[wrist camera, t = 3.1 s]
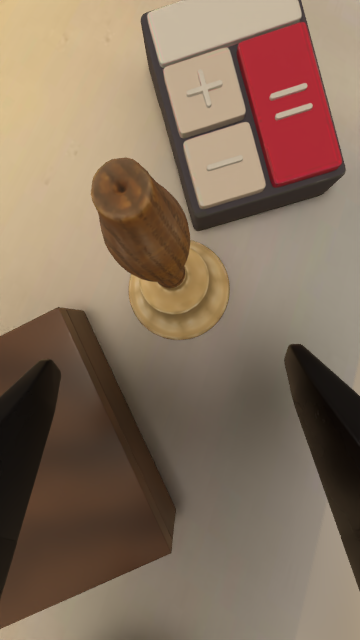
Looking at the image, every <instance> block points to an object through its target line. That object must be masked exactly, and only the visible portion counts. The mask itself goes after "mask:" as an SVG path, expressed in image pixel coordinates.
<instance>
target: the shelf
mask: <svg viewBox="0 0 360 640" xmlns="http://www.w3.org/2000/svg"><path fill="white" fill-rule="evenodd" d="M42 359H52V360H53V361H54V362H55V364H56V365H57V367H58V368H59V369H60V371H61V381H60V386H59V392H58V398H57V403H56V409H55V413H54V417H53V421H52V424H51V428H50V431H49V434H48V438H47V441H46V445H45V448H44V452H43V455H42V458H41V462H40V465H39V469H38V472H37V476H36V479H35V482H34V486H33V489H32V493H31V496H30V500H29V503H28V506H27V510H26V513H25V517H24V520H23V524H22V527H21V530H20V534H19V537H18V540H17V545H16V548H15V552H14V555H13V558H12V562H11V565H10V569H9V572H8V576H7V579H6V582H5V586H4V589H3V593H2V596H1V600H0V629H1V628H3V627H6V626H8V625H10V624H12V623H15V622H17V621H19V620H21V619H24V618H26V617H28V616H30V615H33V614H35V613H37V612H39V611H42V610H44V609H46V608H48V607H51V606H53V605H55V604H58V603H60V602H62V601H64V600H67V599H69V598H71V597H73V596H76V595H78V594H80V593H82V592H85V591H87V590H89V589H91V588H94V587H96V586H98V585H100V584H103V583H105V582H107V581H109V580H112V579H114V578H116V577H118V576H121V575H123V574H125V573H127V572H130V571H132V570H134V569H136V568H139V567H141V566H143V565H145V564H148V563H150V562H152V561H154V560H157V559H159V558H161V557H163V556H166V555H168V554H170V553H171V551H172V541H173V531H174V522H175V513H176V509H175V506H174V504H173V502H172V500H171V498H170V496H169V494H168V491H167V489H166V487H165V485H164V483H163V481H162V478H161V476H160V474H159V472H158V470H157V468H156V466H155V463H154V461H153V459H152V457H151V455H150V453H149V451H148V448H147V446H146V444H145V442H144V440H143V438H142V436H141V433H140V431H139V429H138V427H137V425H136V423H135V420H134V418H133V416H132V414H131V412H130V410H129V408H128V405H127V403H126V401H125V399H124V397H123V395H122V393H121V390H120V388H119V386H118V384H117V382H116V380H115V378H114V375H113V373H112V371H111V369H110V367H109V365H108V362H107V360H106V358H105V356H104V354H103V352H102V350H101V347H100V345H99V343H98V341H97V339H96V337H95V335H94V332H93V330H92V328H91V326H90V324H89V322H88V320H87V317H86V315H85V313H84V311H81V310H74V309H66V308H60V307H58V308H56V309H54V310H52V311H50V312H48V313H46V314H44V315H42V316H40V317H38V318H36V319H34V320H32V321H30V322H28V323H26V324H24V325H22V326H20V327H18V328H16V329H14V330H12V331H10V332H8V333H6V334H4V335H2V336H0V396H1V395H2V394H3V393H4V392H5V391H7V390H8V389H9V388H10V387H11V386H12V385H13V384H14V383H15V382H16V381H17V380H19V379H20V378H21V377H22V376H23V375H24V374H25V373H26V372H27V371H28V370H29V369H30V368H32V367H33V366H34V365H35V364H36V363H37V362H38V361H39V360H42Z"/></svg>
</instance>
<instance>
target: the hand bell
mask: <svg viewBox="0 0 360 640" xmlns="http://www.w3.org/2000/svg"><path fill="white" fill-rule="evenodd" d="M91 196H92V201H93V203H94V205H95V207H96V209H97V211H98V214H99V219H100V225H101V231H102V234H103V238H104V241H105V244H106V246H107V248H108V250H109V252H110V253H111V255H112V256H113V257H114V259H115V260H116V261H117V262H118V263H119V264H120V265H121V266H122V267H123V268H124V269H125V270H127V271H128V272H129V273H131V277H130V281H129V299H130V303H131V306H132V309H133V311H134V313H135V315H136V317H137V318H138V320H139V321H140V322H141V323H142V324H143V325H144V326H145V327H146V328H147V329H148V330H150V331H151V332H153V333H154V334H156V335H159V336H161V337H163V338H167V339H173V340H184V339H190V338H194V337H197V336H199V335H201V334H203V333H205V332H207V331H208V330H209V329H211V328H212V327H213V326H214V325H215V324H216V323H217V322H218V321H219V319H220V318H221V317H222V315H223V313H224V311H225V309H226V306H227V303H228V299H229V291H230V288H229V279H228V275H227V272H226V269H225V267H224V265H223V263H222V262H221V260H220V259H219V258H218V257H217V255H216V254H215V253H214V252H213V251H211V250H210V249H209V248H207V247H206V246H204V245H202V244H200V243H198V242H195V241H191V240H190V233H189V227H188V222H187V219H186V216H185V214H184V212H183V210H182V208H181V206H180V205H179V203H178V202H177V200H176V199H175V198H174V197H173V196H172V195H171V194H170V193H169V192H168V191H167V190H166V189H165V188H164V187H162V186H161V185H159V184H158V183H157V182H156V181H155V180H154V179H153V178H152V177H151V176H150V175H149V173H148V171H146V170H145V169H144V168H143V167H142V166H141V165H140V164H139V163H137V162H136V161H135V160H133V159H130V158H119V159H112V160H110V161H108V162H106V163H105V164H104V165H103V166H102V167H100V168H99V169H98V171H97V172H96V174H95V175H94V177H93V181H92V189H91Z"/></svg>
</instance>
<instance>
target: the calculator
mask: <svg viewBox="0 0 360 640" xmlns="http://www.w3.org/2000/svg"><path fill="white" fill-rule="evenodd" d="M141 25H142V31H143V37H144V43H145V49H146V54H147V60H148V65H149V70H150V73H151V77H152V81H153V84H154V88H155V91H156V95H157V99H158V102H159V106H160V108H161V111H162V114H163V118H164V122H165V125H166V129H167V133H168V136H169V140H170V144H171V147H172V151H173V155H174V158H175V162H176V165H177V169H178V173H179V176H180V180H181V184H182V187H183V191H184V195H185V198H186V202H187V205H188V209H189V213H190V216H191V220H192V224H193V227H194V228H195V229H196V230H203V229H206V228H210V227H213V226H217V225H220V224H223V223H227V222H230V221H234V220H237V219H240V218H244V217H247V216H251V215H254V214H257V213H261V212H264V211H268V210H271V209H275V208H278V207H281V206H285V205H288V204H292V203H295V202H298V201H302V200H305V199H309V198H312V197H315V196H319V195H322V194H323V193H324V192H326V191H327V190H328V189H329V188H330V187H331V186H332V185H333V184H334V183H335V182H337V181H338V180H339V179H340V178H341V177H342V176H343V175H344V174H345V171H346V169H345V164H344V160H343V157H342V153H341V149H340V145H339V142H338V138H337V134H336V130H335V127H334V123H333V119H332V115H331V111H330V108H329V104H328V100H327V96H326V93H325V89H324V85H323V81H322V78H321V74H320V70H319V66H318V62H317V59H316V55H315V51H314V47H313V44H312V40H311V36H310V32H309V29H308V25H307V21H306V17H305V14H304V10H303V6H302V2H301V0H182V1H179V2H176V3H173V4H170V5H167V6H164V7H161V8H159V9H156V10H153V11H150V12H147V13H145V14H143V15H142V17H141Z"/></svg>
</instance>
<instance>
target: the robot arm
mask: <svg viewBox="0 0 360 640" xmlns="http://www.w3.org/2000/svg"><path fill="white" fill-rule="evenodd" d="M284 362H285V368H286V372H287V376H288V381H289V385H290V390H291V394H292V398H293V402H294V405H295V408H296V411H297V414H298V417H299V420H300V423H301V426H302V428H303V431H304V434H305V437H306V440H307V443H308V445H309V448H310V451H311V454H312V457H313V460H314V462H315V465H316V468H317V471H318V474H319V477H320V479H321V482H322V485H323V488H324V491H325V494H326V496H327V499H328V502H329V505H330V508H331V511H332V513H333V516H334V519H335V522H336V525H337V528H338V530H339V533H340V535H341V539H342V542H343V545H344V548H345V551H346V554H347V556H348V559H349V562H350V565H351V568H352V570H353V573H354V576H355V579H356V582H357V585H358V587H359V590H360V396H359V395H358V394H357V393H356V392H355V391H354V390H352V389H351V388H350V387H349V386H348V385H347V384H346V383H345V382H343V381H342V380H341V379H340V378H339V377H338V376H337V375H336V374H334V373H333V372H332V371H331V370H330V369H329V368H328V367H327V366H325V365H324V364H323V363H322V362H321V361H320V360H319V359H318V358H316V357H315V356H314V355H313V354H312V353H311V352H310V351H309V350H307V349H306V348H305V347H304V346H303V345H301V344H291V345H289V346H288V349H287V352H286V355H285V359H284ZM60 381H61V371H60V369H59V368H58V367H57V365H56V364H55V362H54V361H53V360H52V359H42V360H39V361H38V362H37V363H36V364H35V365H34V366H33V367H32V368H30V369H29V370H28V371H27V372H26V373H25V374H24V375H23V376H22V377H21V378H20V379H19V380H17V381H16V382H15V383H14V384H13V385H12V386H11V387H10V388H9V389H8V390H7V391H5V392H4V393H3V394H2V395H1V396H0V600H1V596H2V593H3V589H4V586H5V582H6V579H7V576H8V572H9V569H10V565H11V562H12V558H13V555H14V552H15V548H16V545H17V540H18V537H19V534H20V530H21V527H22V524H23V520H24V517H25V513H26V510H27V506H28V503H29V500H30V496H31V493H32V489H33V486H34V482H35V479H36V476H37V472H38V469H39V465H40V462H41V458H42V455H43V452H44V448H45V445H46V441H47V438H48V434H49V431H50V428H51V424H52V421H53V417H54V413H55V409H56V403H57V398H58V392H59V386H60Z"/></svg>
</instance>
